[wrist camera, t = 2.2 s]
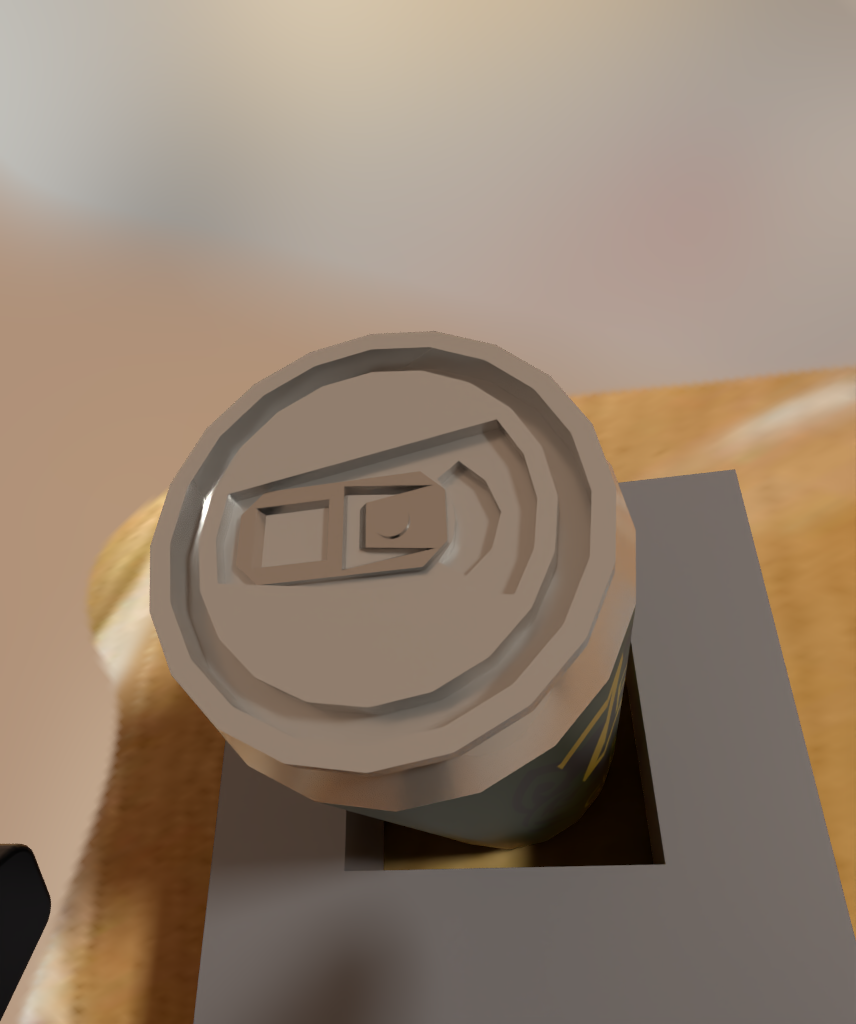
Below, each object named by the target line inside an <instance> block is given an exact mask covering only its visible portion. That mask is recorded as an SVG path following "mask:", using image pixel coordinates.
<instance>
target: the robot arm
mask: <svg viewBox="0 0 856 1024" xmlns="http://www.w3.org/2000/svg"><path fill="white" fill-rule="evenodd" d="M50 909H51V899H50V895H49V892H48V890H47V887H46V885H45V882H44V879H43V877H42V874H41V872H40V869H39V867H38V864H37V861H36V859H35V856H34V854H33V852H32V850H31V849H30V848H29V847H28V846H26V845H23V844H0V1021H1V1018H2V1016H3V1014H4V1012H5V1010H6V1008H7V1006H8V1004H9V1002H10V1000H11V998H12V995H13V993H14V991H15V989H16V987H17V985H18V983H19V981H20V979H21V977H22V974H23V972H24V970H25V968H26V966H27V964H28V962H29V960H30V958H31V956H32V953H33V951H34V949H35V947H36V945H37V943H38V941H39V939H40V937H41V935H42V932H43V930H44V928H45V926H46V924H47V922H48V919H49V915H50Z"/></svg>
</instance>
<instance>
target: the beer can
mask: <svg viewBox="0 0 856 1024" xmlns="http://www.w3.org/2000/svg"><path fill="white" fill-rule="evenodd" d="M635 607H636V529H635V527H634V524H633V521H632V519H631V516H630V514H629V511H628V508H627V506H626V503H625V500H624V498H623V495H622V492H621V490H620V487H619V484H618V482H617V479H616V476H615V474H614V471H613V468H612V466H611V465H610V463H609V462H608V461H607V460H606V459H605V456H604V454H603V451H602V448H601V446H600V443H599V440H598V438H597V435H596V432H595V430H594V427H593V424H592V423H591V422H590V421H589V420H588V419H587V417H586V416H585V415H584V414H583V413H582V412H581V411H580V409H579V408H578V407H577V406H576V405H575V404H574V403H573V401H572V400H571V399H570V398H569V397H568V396H567V395H566V393H565V392H564V391H563V390H562V389H561V388H560V387H559V385H558V384H557V383H556V382H555V381H554V380H553V379H552V377H551V376H549V375H548V374H546V373H544V372H542V371H541V370H539V369H537V368H535V367H534V366H532V365H530V364H528V363H527V362H525V361H523V360H521V359H519V358H518V357H516V356H514V355H512V354H511V353H509V352H507V351H506V350H504V349H502V348H500V347H498V346H497V345H494V344H489V343H485V342H480V341H476V340H471V339H467V338H462V337H458V336H453V335H449V334H445V333H440V332H436V331H430V332H408V333H388V334H387V333H386V334H371V335H367V336H364V337H361V338H357V339H354V340H350V341H347V342H344V343H340V344H337V345H333V346H330V347H327V348H323V349H320V350H317V351H313V352H310V353H308V354H307V355H305V356H303V357H301V358H300V359H298V360H296V361H294V362H293V363H291V364H289V365H287V366H286V367H284V368H282V369H280V370H279V371H277V372H275V373H273V374H272V375H270V376H268V377H266V378H265V379H263V380H261V381H259V382H258V383H256V384H254V385H253V386H252V387H251V388H250V389H249V390H248V391H247V392H246V393H244V395H242V397H240V398H239V399H238V400H237V401H236V402H235V403H234V404H233V405H232V406H231V407H230V408H228V409H227V410H226V411H225V412H224V413H223V414H222V415H221V416H220V417H219V418H218V419H217V420H215V421H214V422H213V423H212V424H211V425H210V426H209V427H208V428H207V429H206V430H205V432H204V433H203V435H202V436H201V438H200V440H199V441H198V443H197V444H196V446H195V447H194V449H193V450H192V452H191V453H190V455H189V456H188V458H187V459H186V461H185V463H184V464H183V466H182V467H181V469H180V470H179V472H178V473H177V475H176V476H175V478H174V479H173V481H172V482H171V484H170V487H169V490H168V493H167V496H166V499H165V502H164V506H163V509H162V512H161V515H160V518H159V521H158V524H157V527H156V530H155V533H154V536H153V540H152V543H151V546H150V614H151V617H152V620H153V623H154V626H155V629H156V632H157V635H158V638H159V640H160V643H161V646H162V649H163V652H164V655H165V658H166V661H167V664H168V667H169V670H170V673H171V675H172V676H173V678H174V679H175V680H176V681H177V682H178V683H179V685H180V686H181V687H182V688H183V689H184V690H185V692H186V693H187V694H188V695H189V696H190V698H191V699H192V700H193V701H194V702H195V703H196V705H197V706H198V707H199V708H200V709H201V710H202V712H203V713H204V715H205V716H206V717H207V718H208V719H209V720H210V722H211V723H212V724H213V725H214V726H215V727H216V729H217V730H218V731H219V732H220V733H221V735H222V736H223V737H224V738H225V739H226V740H227V742H228V743H229V744H230V745H231V746H232V747H233V749H234V750H235V751H236V752H237V753H238V754H239V756H240V757H241V758H242V759H243V760H244V762H245V763H246V764H247V765H248V766H249V767H251V768H253V769H255V770H257V771H259V772H261V773H262V774H264V775H266V776H268V777H270V778H272V779H274V780H276V781H277V782H279V783H281V784H283V785H285V786H287V787H289V788H291V789H292V790H294V791H296V792H298V793H300V794H302V795H304V796H305V797H307V798H309V799H311V800H313V801H315V802H318V803H322V804H326V805H329V806H333V807H337V808H340V809H344V810H348V811H351V812H355V813H359V814H362V815H366V816H369V817H373V818H377V819H380V820H384V821H388V822H391V823H395V824H399V825H402V826H406V827H410V828H413V829H417V830H421V831H424V832H428V833H432V834H435V835H439V836H443V837H446V838H450V839H454V840H457V841H461V842H465V843H468V844H472V845H480V846H487V847H495V848H502V849H514V848H518V847H523V846H527V845H532V844H536V843H541V842H545V841H547V840H549V839H551V838H552V837H554V836H555V835H557V834H558V833H560V832H562V831H563V830H565V829H566V828H568V827H569V826H571V825H573V824H574V823H576V822H577V821H579V819H580V818H581V817H582V815H583V814H584V813H585V812H586V810H587V809H588V808H589V806H590V805H591V804H592V803H593V801H594V800H595V799H596V797H597V796H598V795H599V794H600V792H601V791H602V788H603V785H604V782H605V779H606V776H607V774H608V771H609V768H610V765H611V762H612V759H613V756H614V750H615V744H616V737H617V730H618V723H619V716H620V710H621V703H622V696H623V689H624V682H625V676H626V669H627V662H628V655H629V648H630V642H631V635H632V628H633V621H634V614H635Z"/></svg>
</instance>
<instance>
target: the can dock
mask: <svg viewBox="0 0 856 1024" xmlns="http://www.w3.org/2000/svg"><path fill="white" fill-rule="evenodd" d="M618 484H619V487H620V490H621V492H622V495H623V498H624V500H625V503H626V506H627V508H628V511H629V514H630V516H631V519H632V521H633V524H634V527H635V529H636V607H635V614H634V621H633V628H632V635H631V642H630V648H629V655H628V662H627V669H626V681H627V688H628V695H629V701H630V708H631V715H632V722H633V729H634V735H635V742H636V749H637V756H638V762H639V769H640V776H641V783H642V789H643V796H644V803H645V810H646V816H647V823H648V830H649V837H650V844H651V850H652V857H653V864H654V865H615V866H568V867H522V868H475V869H428V870H383V867H384V820H380V819H377V818H373V817H369V816H366V815H362V814H359V813H355V812H351V811H348V810H344V809H340V808H337V807H333V806H329V805H326V804H322V803H318V802H315V801H313V800H311V799H309V798H307V797H305V796H304V795H302V794H300V793H298V792H296V791H294V790H292V789H291V788H289V787H287V786H285V785H283V784H281V783H279V782H277V781H276V780H274V779H272V778H270V777H268V776H266V775H264V774H262V773H261V772H259V771H257V770H255V769H253V768H251V767H249V766H248V765H247V764H246V763H245V762H244V760H243V759H242V758H241V757H240V756H239V754H238V753H237V752H236V751H235V750H234V749H233V747H232V746H231V745H230V744H229V743H228V742H227V740H226V741H225V750H224V758H223V767H222V776H221V785H220V794H219V802H218V811H217V820H216V829H215V838H214V846H213V855H212V864H211V873H210V882H209V890H208V899H207V908H206V917H205V926H204V934H203V943H202V952H201V961H200V970H199V978H198V987H197V996H196V1005H195V1014H194V1022H193V1024H856V940H855V936H854V932H853V928H852V924H851V921H850V917H849V913H848V909H847V905H846V901H845V897H844V893H843V889H842V885H841V881H840V878H839V874H838V870H837V866H836V862H835V858H834V854H833V850H832V846H831V842H830V838H829V835H828V831H827V827H826V823H825V819H824V815H823V811H822V807H821V803H820V799H819V795H818V792H817V788H816V784H815V780H814V776H813V772H812V768H811V764H810V760H809V756H808V752H807V749H806V745H805V741H804V737H803V733H802V729H801V725H800V721H799V717H798V713H797V709H796V706H795V702H794V698H793V694H792V690H791V686H790V682H789V678H788V674H787V670H786V666H785V663H784V659H783V655H782V651H781V647H780V643H779V639H778V635H777V631H776V627H775V623H774V620H773V616H772V612H771V608H770V604H769V600H768V596H767V592H766V588H765V584H764V580H763V577H762V573H761V569H760V565H759V561H758V557H757V553H756V549H755V545H754V541H753V537H752V534H751V530H750V526H749V522H748V518H747V514H746V510H745V506H744V502H743V498H742V494H741V491H740V487H739V483H738V479H737V475H736V471H735V470H727V471H718V472H709V473H701V474H692V475H683V476H674V477H666V478H657V479H648V480H639V481H631V482H622V483H618Z"/></svg>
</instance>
